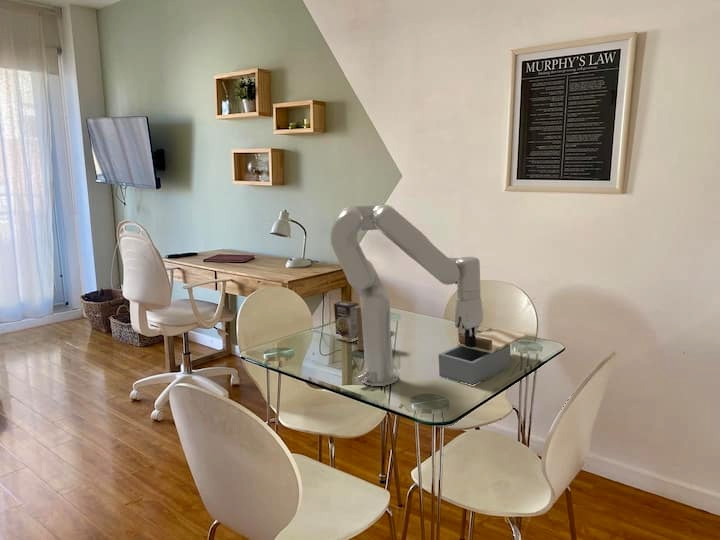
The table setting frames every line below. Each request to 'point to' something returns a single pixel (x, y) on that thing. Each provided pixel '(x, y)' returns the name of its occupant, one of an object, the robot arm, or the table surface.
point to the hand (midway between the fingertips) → (470, 346)
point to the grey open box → (472, 364)
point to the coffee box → (346, 319)
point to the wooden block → (359, 328)
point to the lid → (493, 339)
